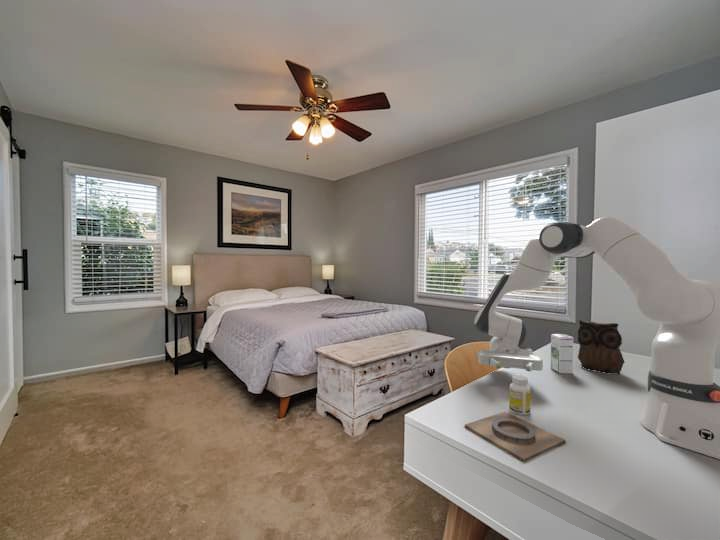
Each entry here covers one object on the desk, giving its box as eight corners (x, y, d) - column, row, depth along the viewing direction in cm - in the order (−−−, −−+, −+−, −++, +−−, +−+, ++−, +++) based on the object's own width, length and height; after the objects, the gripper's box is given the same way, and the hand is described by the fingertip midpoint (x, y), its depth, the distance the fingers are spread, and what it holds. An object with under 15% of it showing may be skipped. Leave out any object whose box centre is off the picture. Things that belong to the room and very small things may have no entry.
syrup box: (573, 373, 121) (574, 337, 121) (558, 373, 121) (559, 336, 121) (564, 368, 127) (565, 333, 127) (549, 368, 127) (550, 333, 127)
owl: (625, 375, 120) (627, 324, 120) (591, 374, 121) (592, 323, 121) (603, 365, 133) (604, 318, 132) (572, 363, 134) (573, 318, 134)
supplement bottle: (525, 407, 91) (526, 374, 91) (533, 416, 86) (534, 381, 86) (506, 406, 92) (506, 373, 92) (513, 415, 86) (514, 380, 86)
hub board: (565, 442, 73) (565, 435, 73) (523, 462, 65) (523, 454, 65) (505, 413, 87) (505, 407, 87) (464, 426, 79) (465, 420, 79)
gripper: (476, 343, 117) (479, 354, 104) (536, 349, 111) (548, 361, 98) (475, 360, 117) (478, 372, 104) (535, 366, 111) (547, 380, 98)
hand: (513, 367), depth 101 cm, fingers open, 8 cm apart
